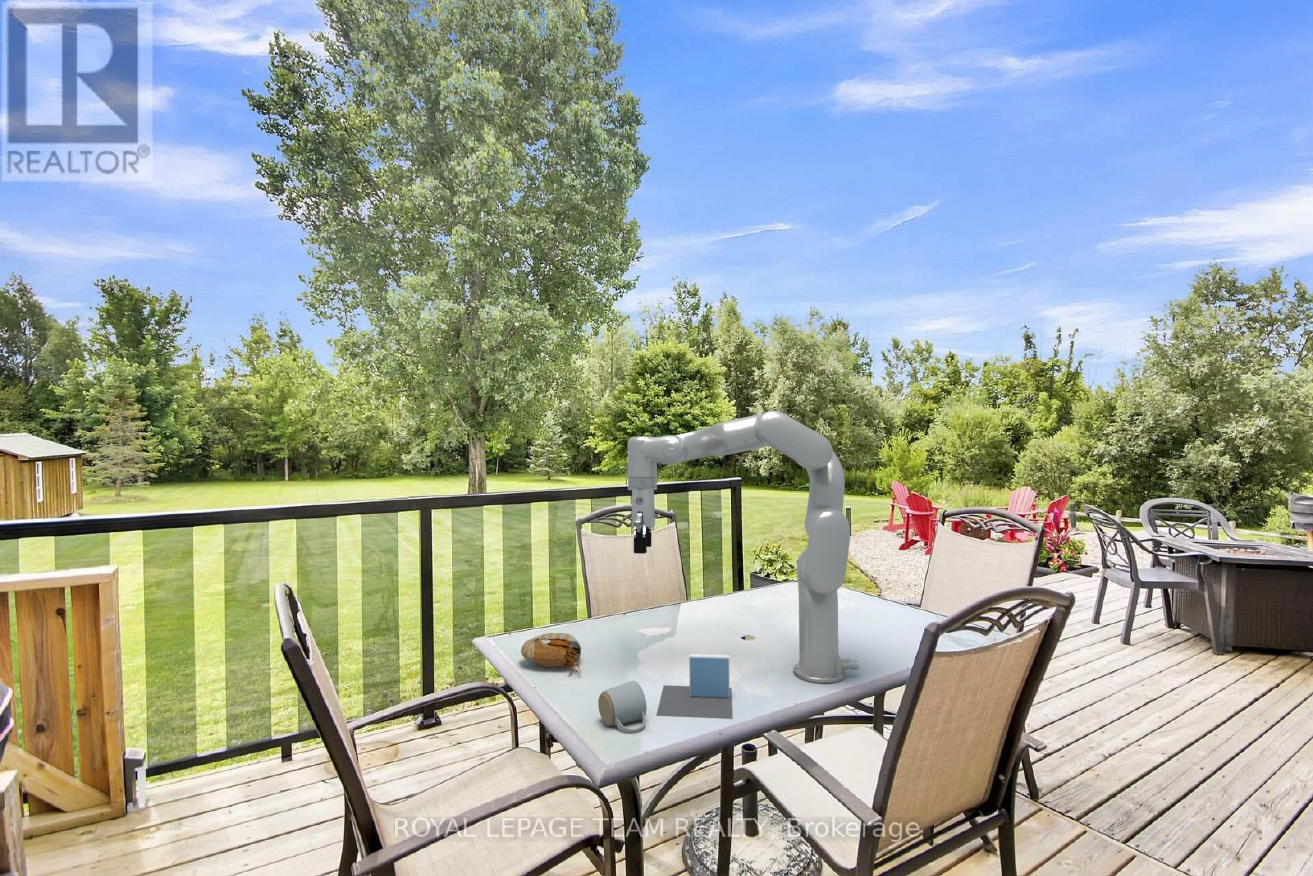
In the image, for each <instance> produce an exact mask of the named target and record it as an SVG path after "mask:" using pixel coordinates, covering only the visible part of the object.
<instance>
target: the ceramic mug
mask: <svg viewBox="0 0 1313 876" xmlns="http://www.w3.org/2000/svg"><path fill="white" fill-rule="evenodd" d="M597 705H598V712H599V715H600V718H601V720H602V722H603V723H604V724H605V725H606V726H607V727H617V728H618V730H619V731H620V732H621V733H625V734H636V733H639V732H642V731H643V730H644V729H645V725H646V715H647V708H648V707H647V700H646V696H645V693H644V690H643V689H642V687H641V685H640V684H639V682H638V681H637V680H631V681H628V682H625V683H622V684H619V685H616V686H613V687H610V688H608V689H606V690H604V691H602V692H601V693H600V694H599V696H598V704H597ZM636 721H642V722H641V723H642V724H641V725H640V726H639V727H637V728H627V727H625V726H624V724H628V723H633V722H636Z"/></svg>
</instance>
